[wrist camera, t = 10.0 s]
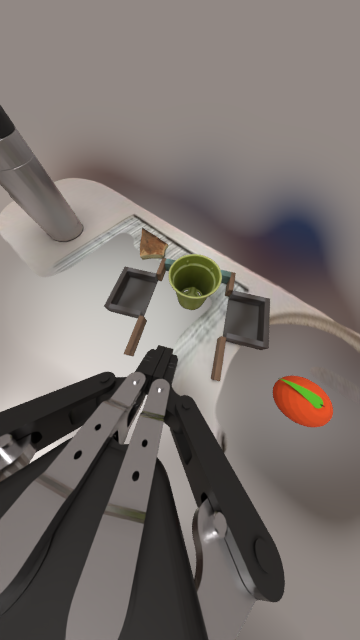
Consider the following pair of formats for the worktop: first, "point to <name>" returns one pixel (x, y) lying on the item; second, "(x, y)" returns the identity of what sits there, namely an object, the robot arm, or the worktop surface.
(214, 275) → the plant pot
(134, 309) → the two-trap channel
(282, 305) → the worktop surface
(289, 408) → the clementine
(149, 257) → the shard
